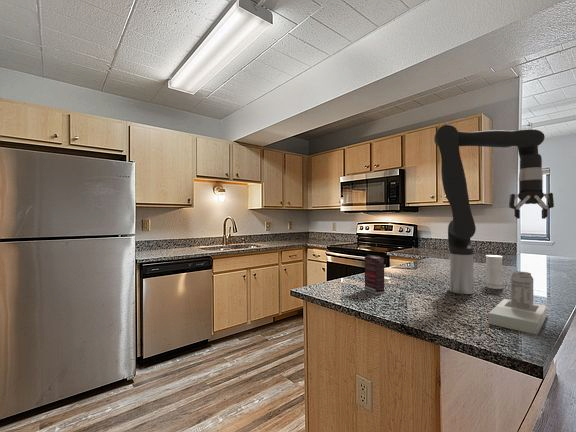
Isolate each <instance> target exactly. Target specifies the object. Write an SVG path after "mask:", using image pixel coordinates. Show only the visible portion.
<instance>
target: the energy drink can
mask: <svg viewBox="0 0 576 432" xmlns="http://www.w3.org/2000/svg"><path fill="white" fill-rule="evenodd" d="M510 300H511V307H512V308H517V309H523V310H528V311H533V304H534V277H533V276H532V273H530V272H529V271H528V272H527V271H519V270H518V271H516V270H515V271H513V272H512V274H511V276H510Z"/></svg>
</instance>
